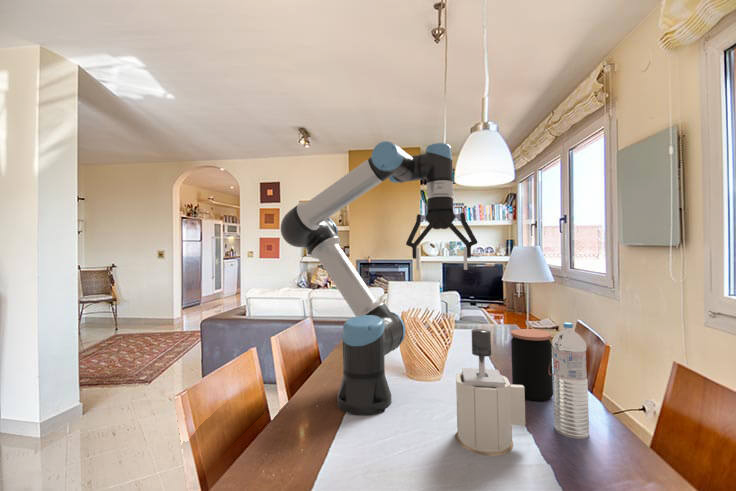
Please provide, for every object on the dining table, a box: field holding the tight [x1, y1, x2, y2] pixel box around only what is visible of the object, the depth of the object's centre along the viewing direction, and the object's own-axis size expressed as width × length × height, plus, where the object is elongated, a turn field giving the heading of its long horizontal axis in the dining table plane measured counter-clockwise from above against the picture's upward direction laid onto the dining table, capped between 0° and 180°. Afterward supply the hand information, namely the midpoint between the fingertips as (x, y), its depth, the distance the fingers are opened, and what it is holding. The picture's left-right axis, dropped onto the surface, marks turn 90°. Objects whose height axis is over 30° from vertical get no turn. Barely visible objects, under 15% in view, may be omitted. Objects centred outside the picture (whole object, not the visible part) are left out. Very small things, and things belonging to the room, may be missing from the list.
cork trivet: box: [455, 430, 514, 456], centre depth 75 cm, size 12×12×1 cm
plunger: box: [471, 328, 492, 387], centre depth 75 cm, size 8×8×22 cm
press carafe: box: [455, 367, 526, 454], centre depth 75 cm, size 14×11×14 cm
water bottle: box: [551, 322, 590, 440], centre depth 78 cm, size 7×7×25 cm
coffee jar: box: [510, 328, 554, 403], centre depth 99 cm, size 11×11×18 cm
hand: (441, 269), depth 100 cm, fingers open, 13 cm apart
